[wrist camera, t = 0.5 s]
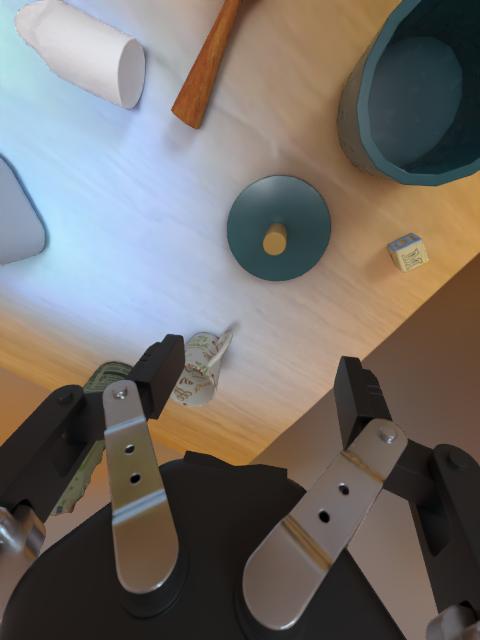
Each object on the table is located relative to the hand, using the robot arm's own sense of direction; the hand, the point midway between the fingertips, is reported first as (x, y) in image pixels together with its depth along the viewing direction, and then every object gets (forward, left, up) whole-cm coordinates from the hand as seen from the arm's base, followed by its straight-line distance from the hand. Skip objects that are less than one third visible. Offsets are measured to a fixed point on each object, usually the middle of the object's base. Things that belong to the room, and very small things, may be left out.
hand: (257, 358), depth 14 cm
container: (-13, +10, -26) cm, 31 cm away
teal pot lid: (0, -1, -26) cm, 26 cm away
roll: (-17, -23, -27) cm, 39 cm away
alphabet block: (+1, +15, -27) cm, 31 cm away
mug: (+19, -10, -27) cm, 34 cm away
